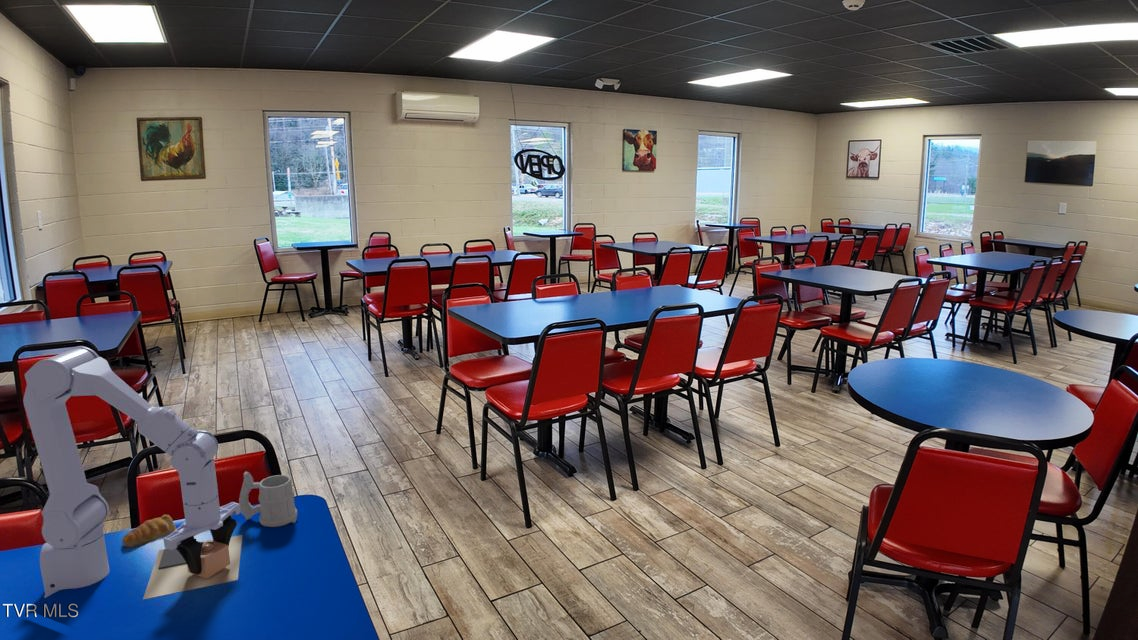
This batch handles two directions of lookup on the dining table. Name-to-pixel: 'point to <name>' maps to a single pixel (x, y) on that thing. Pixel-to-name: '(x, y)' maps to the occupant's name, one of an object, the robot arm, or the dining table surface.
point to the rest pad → (171, 559)
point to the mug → (270, 500)
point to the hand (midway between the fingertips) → (208, 564)
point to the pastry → (149, 531)
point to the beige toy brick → (213, 558)
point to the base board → (182, 580)
